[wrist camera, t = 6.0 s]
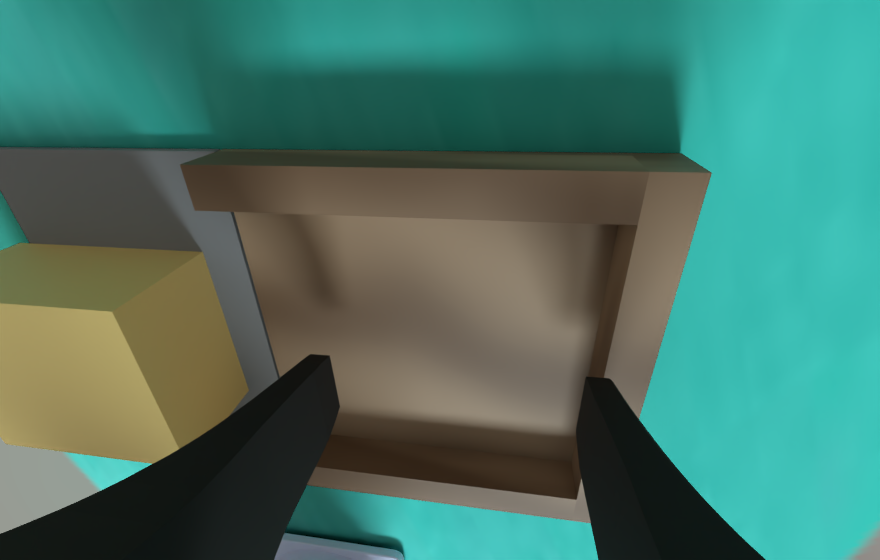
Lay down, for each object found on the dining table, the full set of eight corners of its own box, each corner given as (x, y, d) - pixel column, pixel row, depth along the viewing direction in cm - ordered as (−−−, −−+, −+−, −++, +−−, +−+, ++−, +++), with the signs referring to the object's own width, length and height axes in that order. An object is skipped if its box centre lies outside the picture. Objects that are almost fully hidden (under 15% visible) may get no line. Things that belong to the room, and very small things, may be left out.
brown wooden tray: (598, 479, 16) (607, 525, 15) (303, 444, 18) (283, 481, 16) (681, 153, 10) (712, 172, 9) (223, 149, 12) (179, 164, 10)
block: (248, 390, 16) (188, 468, 13) (94, 374, 17) (5, 444, 14) (202, 252, 13) (111, 311, 10) (19, 242, 14) (-111, 294, 11)
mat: (301, 443, 18) (298, 449, 18) (137, 424, 19) (132, 429, 19) (220, 148, 12) (213, 151, 12) (-12, 146, 13) (-23, 149, 13)
